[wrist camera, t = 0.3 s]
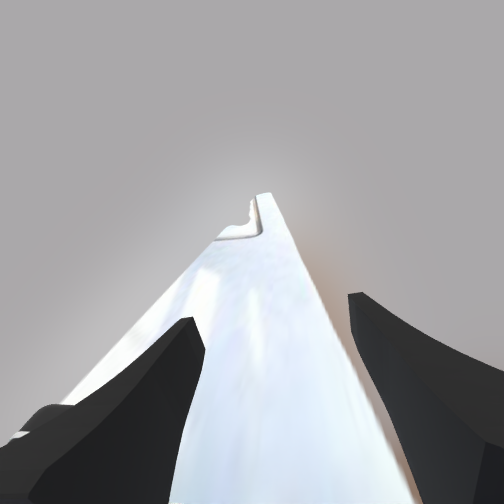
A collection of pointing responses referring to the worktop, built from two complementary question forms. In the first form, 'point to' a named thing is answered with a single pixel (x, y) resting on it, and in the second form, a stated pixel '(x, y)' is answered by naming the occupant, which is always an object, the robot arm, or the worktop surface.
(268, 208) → the worktop surface
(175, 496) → the worktop surface
